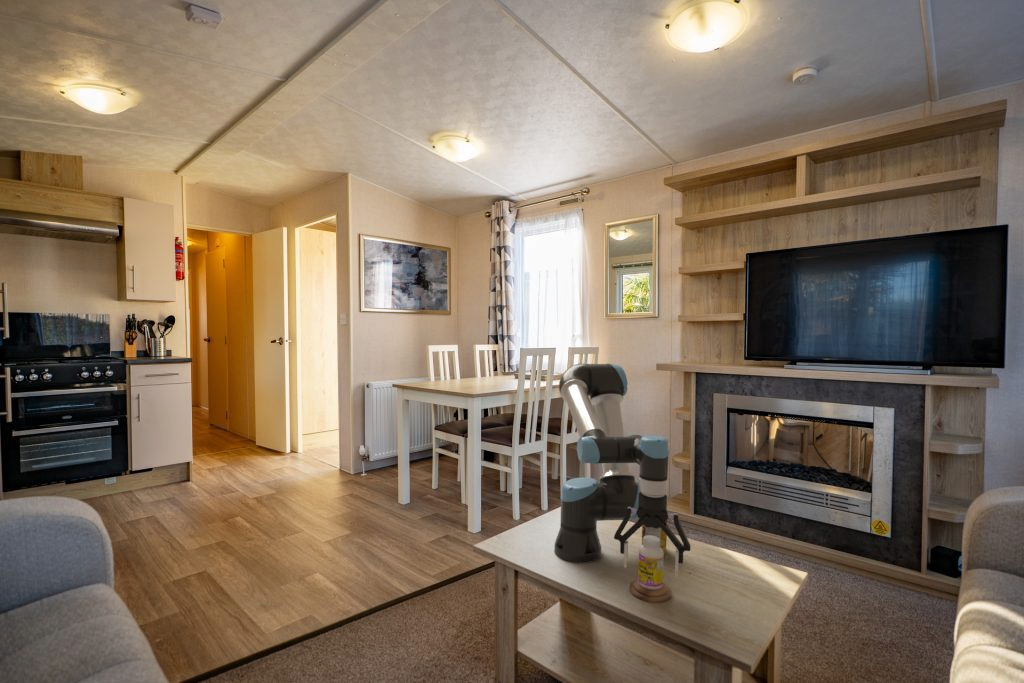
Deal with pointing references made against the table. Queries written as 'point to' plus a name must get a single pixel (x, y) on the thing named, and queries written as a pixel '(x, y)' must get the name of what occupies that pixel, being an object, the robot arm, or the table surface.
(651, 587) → the supplement bottle
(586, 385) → the robot arm
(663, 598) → the plinth
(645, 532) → the canned food
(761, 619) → the table surface
